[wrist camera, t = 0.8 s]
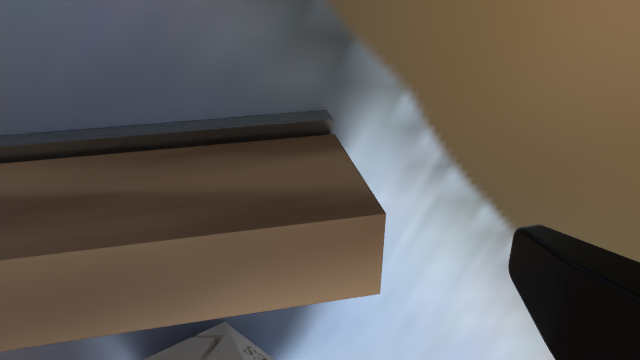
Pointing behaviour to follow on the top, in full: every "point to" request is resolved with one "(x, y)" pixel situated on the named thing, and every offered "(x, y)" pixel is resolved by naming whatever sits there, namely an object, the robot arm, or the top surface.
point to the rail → (162, 136)
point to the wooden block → (181, 237)
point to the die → (214, 347)
